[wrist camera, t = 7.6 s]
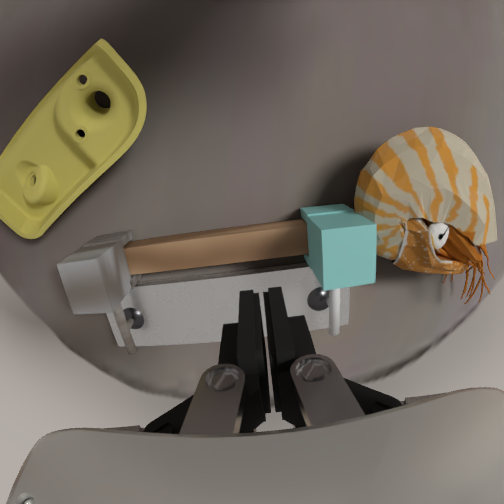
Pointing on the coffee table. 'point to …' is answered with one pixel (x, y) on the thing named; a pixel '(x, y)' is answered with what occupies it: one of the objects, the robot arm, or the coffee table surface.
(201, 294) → the bolt plate
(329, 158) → the coffee table surface
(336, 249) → the block
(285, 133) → the coffee table surface
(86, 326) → the coffee table surface
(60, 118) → the plastic component
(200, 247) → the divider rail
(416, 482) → the robot arm
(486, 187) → the nautilus
